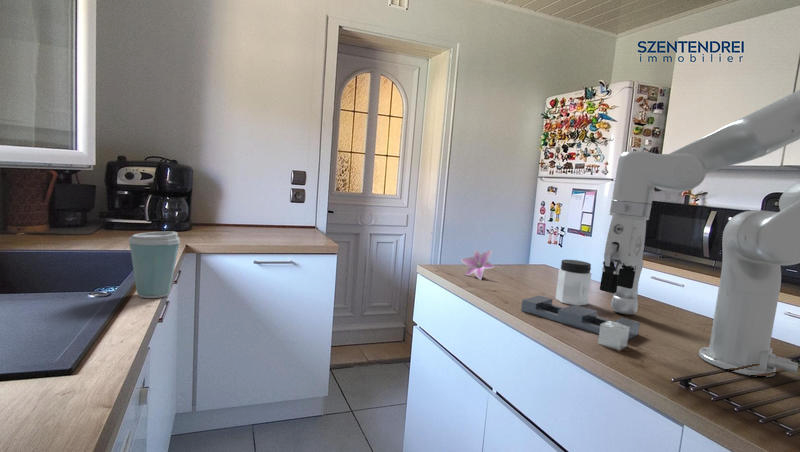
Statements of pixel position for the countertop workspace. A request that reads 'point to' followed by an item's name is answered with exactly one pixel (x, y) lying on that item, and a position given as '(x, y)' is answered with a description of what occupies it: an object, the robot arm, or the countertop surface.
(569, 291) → the jar
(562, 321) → the rail
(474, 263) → the lily
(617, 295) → the plastic bottle
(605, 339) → the nut
